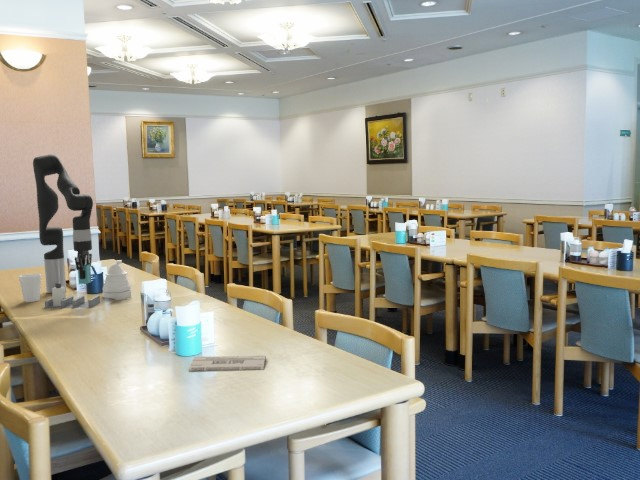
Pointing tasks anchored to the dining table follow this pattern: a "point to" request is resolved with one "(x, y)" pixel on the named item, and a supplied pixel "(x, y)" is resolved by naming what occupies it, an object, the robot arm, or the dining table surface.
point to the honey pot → (116, 283)
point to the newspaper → (227, 363)
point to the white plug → (58, 294)
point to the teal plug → (87, 275)
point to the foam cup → (30, 286)
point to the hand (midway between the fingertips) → (84, 277)
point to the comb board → (74, 302)
